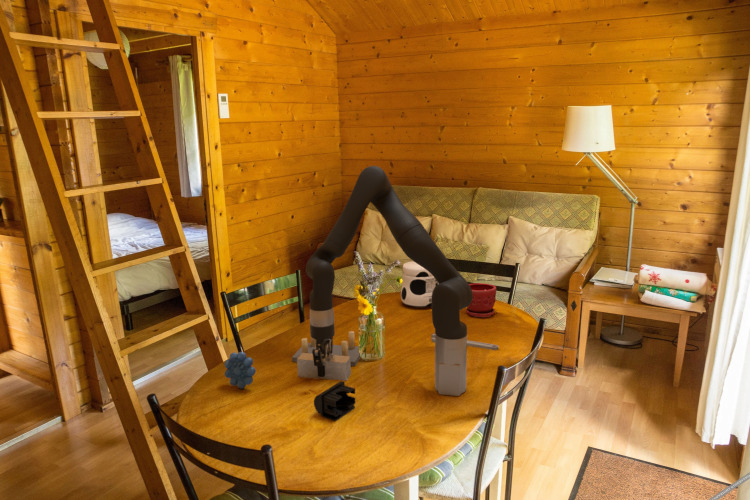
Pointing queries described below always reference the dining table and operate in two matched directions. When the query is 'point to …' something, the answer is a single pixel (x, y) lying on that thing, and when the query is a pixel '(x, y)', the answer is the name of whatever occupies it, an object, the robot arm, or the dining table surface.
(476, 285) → the plant pot
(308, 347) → the peg rack
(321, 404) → the end cap
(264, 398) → the dining table surface
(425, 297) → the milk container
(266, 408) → the dining table surface
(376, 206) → the robot arm
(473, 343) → the adjustable wrench
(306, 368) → the steel bar
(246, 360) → the grapes
